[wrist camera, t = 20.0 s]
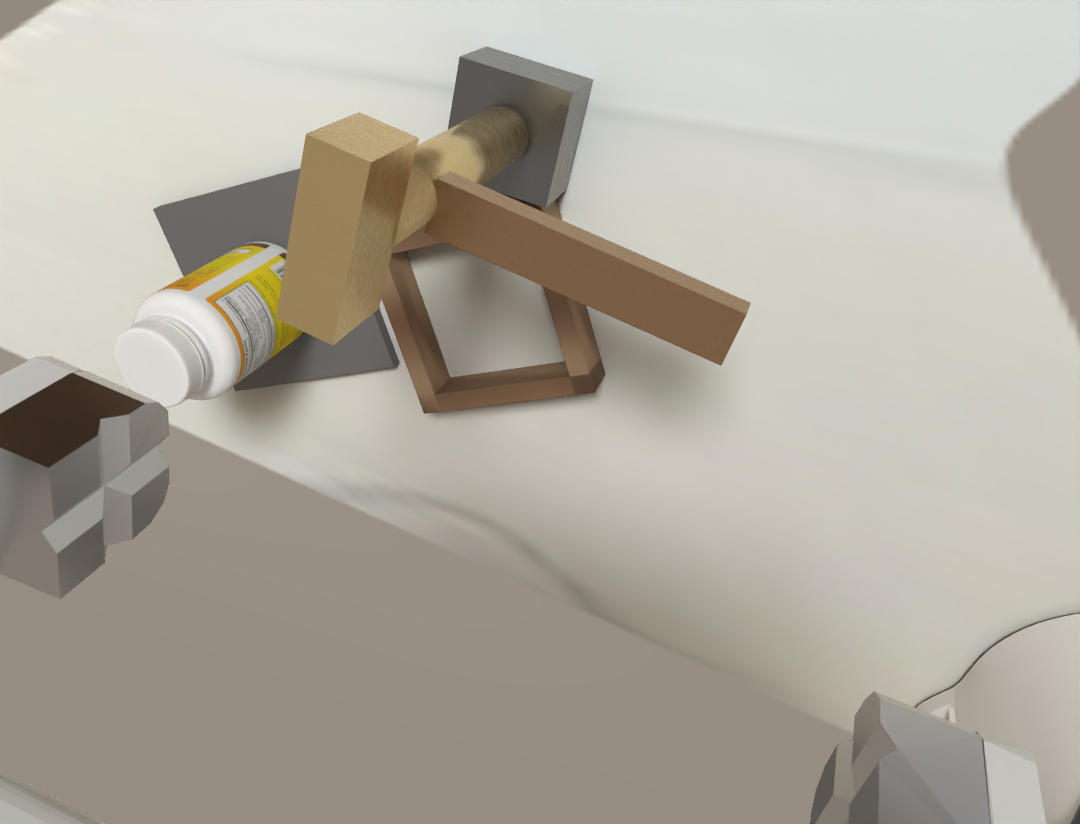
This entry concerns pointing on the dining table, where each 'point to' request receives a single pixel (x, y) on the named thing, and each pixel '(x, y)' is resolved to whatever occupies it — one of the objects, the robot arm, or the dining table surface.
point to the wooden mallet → (465, 234)
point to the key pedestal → (526, 117)
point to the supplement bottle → (207, 328)
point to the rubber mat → (266, 217)
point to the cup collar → (492, 387)
